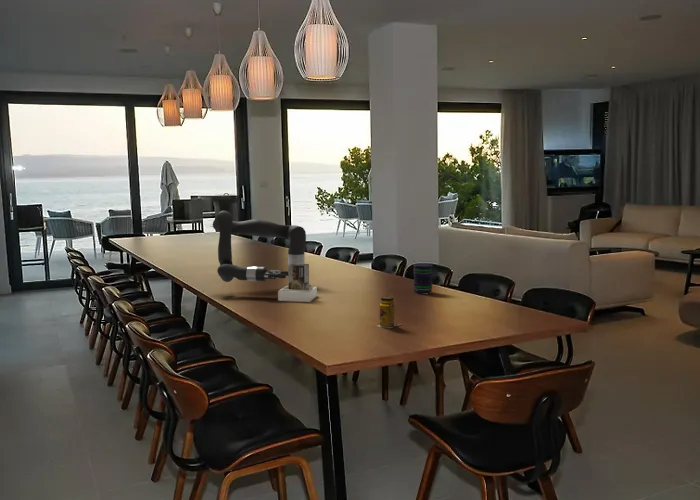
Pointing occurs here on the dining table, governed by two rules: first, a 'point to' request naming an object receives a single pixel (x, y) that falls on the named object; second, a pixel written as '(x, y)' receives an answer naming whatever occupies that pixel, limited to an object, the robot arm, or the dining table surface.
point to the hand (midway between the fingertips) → (287, 274)
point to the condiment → (387, 312)
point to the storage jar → (422, 278)
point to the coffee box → (298, 276)
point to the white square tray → (297, 294)
